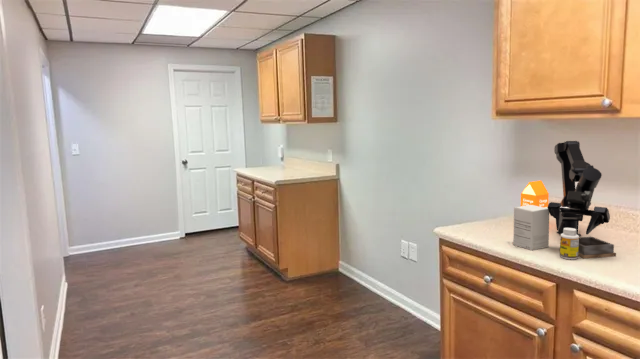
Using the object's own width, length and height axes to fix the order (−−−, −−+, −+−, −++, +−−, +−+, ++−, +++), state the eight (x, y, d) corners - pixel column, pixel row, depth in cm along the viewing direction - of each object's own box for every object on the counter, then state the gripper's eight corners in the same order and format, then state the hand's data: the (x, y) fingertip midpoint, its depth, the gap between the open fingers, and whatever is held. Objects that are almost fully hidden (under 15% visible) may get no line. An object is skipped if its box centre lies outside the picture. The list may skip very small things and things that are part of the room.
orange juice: (519, 224, 201) (520, 181, 198) (532, 222, 205) (533, 179, 202) (535, 228, 194) (536, 183, 191) (548, 225, 198) (549, 181, 195)
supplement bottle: (556, 255, 156) (557, 227, 155) (572, 254, 156) (573, 226, 155) (565, 260, 151) (566, 231, 149) (581, 259, 151) (582, 230, 149)
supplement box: (529, 241, 174) (530, 204, 172) (549, 247, 166) (550, 208, 164) (512, 244, 171) (513, 206, 169) (531, 250, 163) (533, 210, 161)
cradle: (591, 246, 165) (591, 236, 165) (615, 256, 153) (616, 245, 153) (561, 248, 164) (561, 238, 163) (583, 258, 152) (584, 247, 151)
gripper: (550, 180, 162) (537, 214, 155) (609, 184, 148) (598, 222, 142) (556, 198, 168) (545, 232, 162) (614, 203, 155) (604, 241, 149)
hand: (571, 231), depth 153 cm, fingers open, 9 cm apart
